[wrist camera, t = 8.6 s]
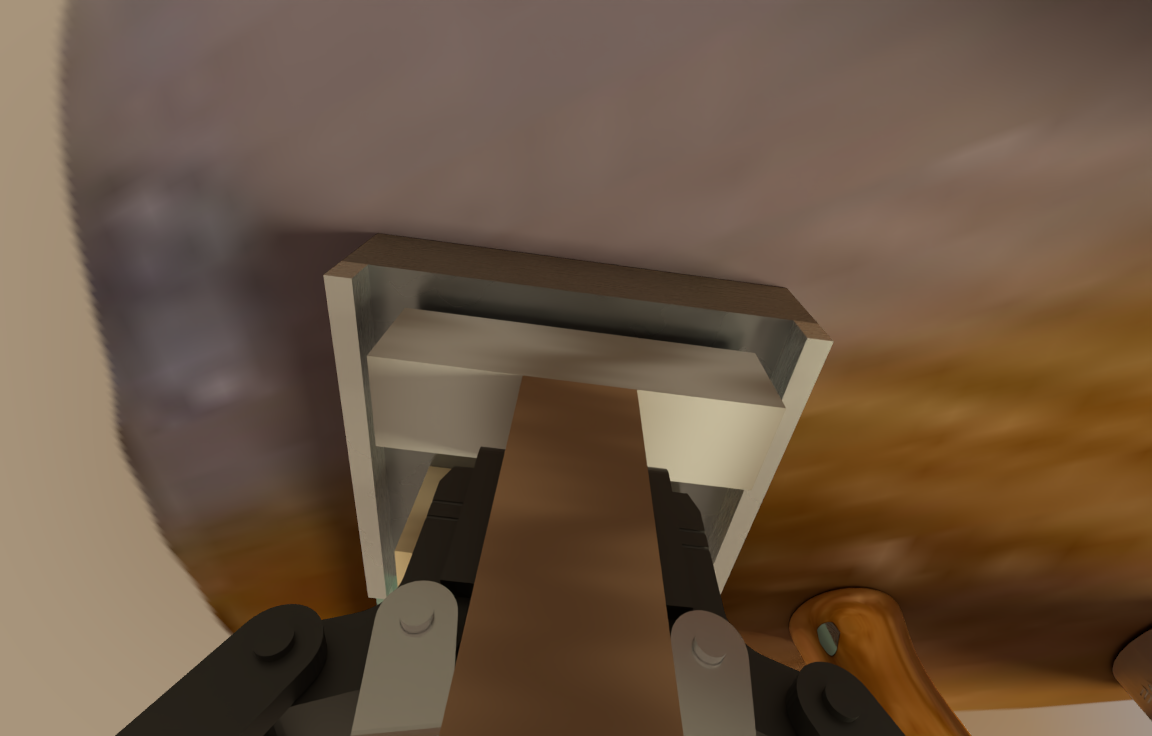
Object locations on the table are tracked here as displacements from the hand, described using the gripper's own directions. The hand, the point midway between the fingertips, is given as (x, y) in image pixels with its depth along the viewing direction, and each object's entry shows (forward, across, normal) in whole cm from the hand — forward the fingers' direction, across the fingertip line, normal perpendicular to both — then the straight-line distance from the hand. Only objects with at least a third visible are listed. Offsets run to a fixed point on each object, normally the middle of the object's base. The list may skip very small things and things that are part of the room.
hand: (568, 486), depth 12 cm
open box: (+9, 0, +5) cm, 10 cm away
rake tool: (+5, 0, 0) cm, 5 cm away
